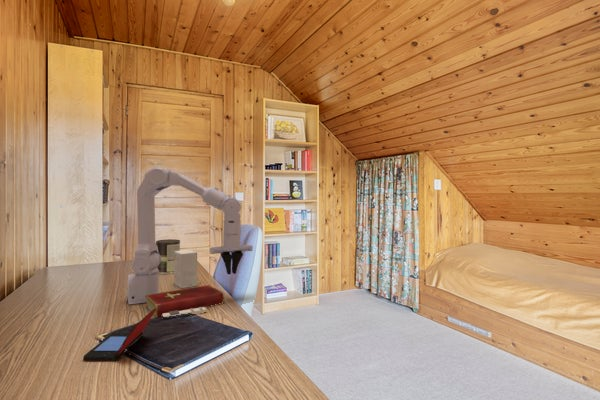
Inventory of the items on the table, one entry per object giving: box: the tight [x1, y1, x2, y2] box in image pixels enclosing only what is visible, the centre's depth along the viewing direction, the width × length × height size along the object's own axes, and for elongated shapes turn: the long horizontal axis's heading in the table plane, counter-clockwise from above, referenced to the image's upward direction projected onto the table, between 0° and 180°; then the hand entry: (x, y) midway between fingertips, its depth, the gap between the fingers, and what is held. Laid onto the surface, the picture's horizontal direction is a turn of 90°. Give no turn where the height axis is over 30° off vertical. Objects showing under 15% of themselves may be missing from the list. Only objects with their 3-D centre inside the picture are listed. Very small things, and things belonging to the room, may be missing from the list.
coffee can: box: [155, 238, 181, 275], centre depth 149 cm, size 10×10×14 cm
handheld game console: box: [82, 309, 156, 362], centre depth 74 cm, size 12×11×7 cm
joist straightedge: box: [161, 307, 208, 317], centre depth 95 cm, size 12×2×1 cm, turn 121°
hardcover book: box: [145, 284, 225, 318], centre depth 104 cm, size 12×21×4 cm, turn 129°
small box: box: [173, 249, 198, 289], centre depth 127 cm, size 8×6×13 cm
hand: (231, 273), depth 111 cm, fingers closed
